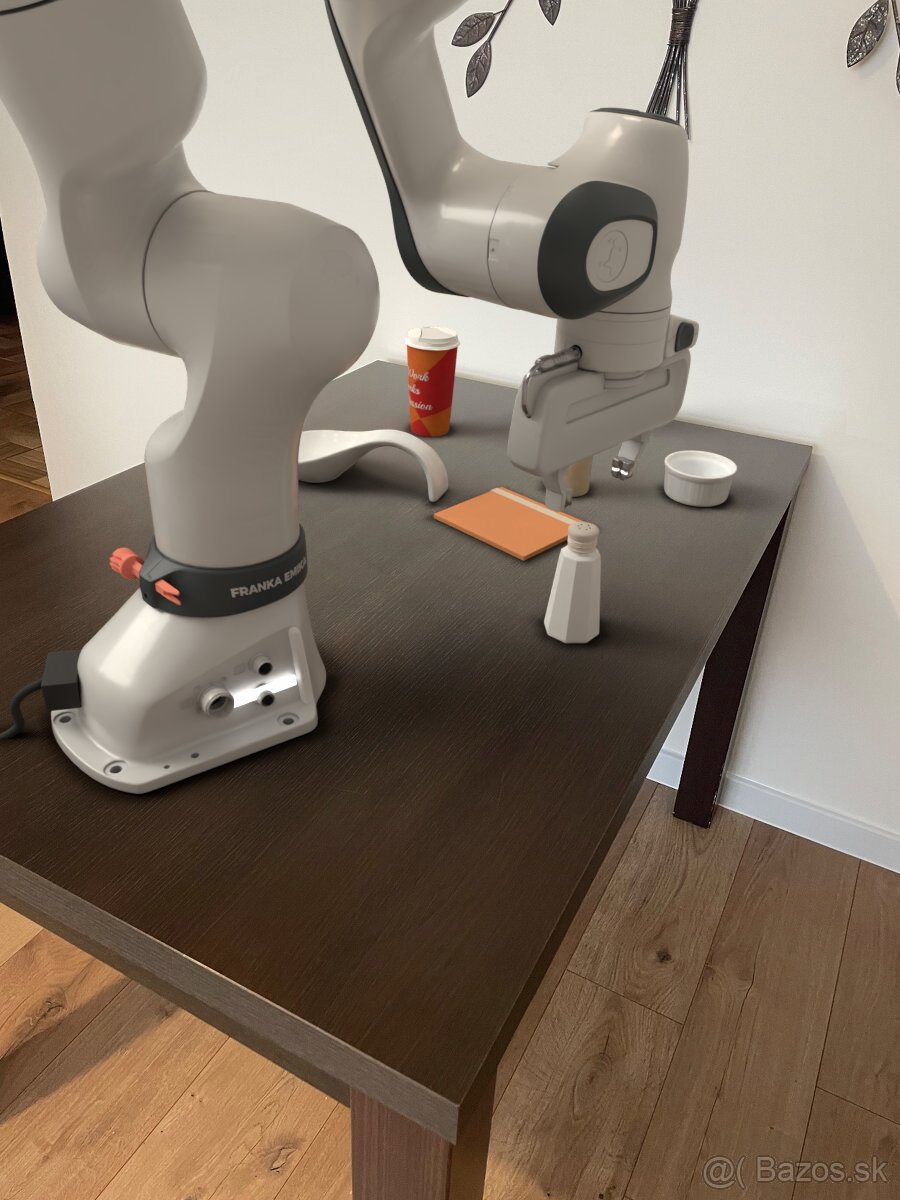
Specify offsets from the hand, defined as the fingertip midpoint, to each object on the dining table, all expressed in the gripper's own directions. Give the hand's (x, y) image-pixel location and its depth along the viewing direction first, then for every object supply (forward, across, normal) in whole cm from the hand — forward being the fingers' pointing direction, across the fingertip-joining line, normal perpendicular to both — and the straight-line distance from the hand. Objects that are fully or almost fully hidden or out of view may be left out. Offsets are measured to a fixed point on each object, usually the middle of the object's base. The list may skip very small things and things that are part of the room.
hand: (591, 491), depth 82 cm
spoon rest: (+15, +6, +40) cm, 43 cm away
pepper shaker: (+15, -1, 0) cm, 15 cm away
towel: (+15, +12, +19) cm, 27 cm away
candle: (+15, +25, +21) cm, 36 cm away
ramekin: (+15, +36, +9) cm, 40 cm away
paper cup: (+15, +26, +47) cm, 56 cm away
